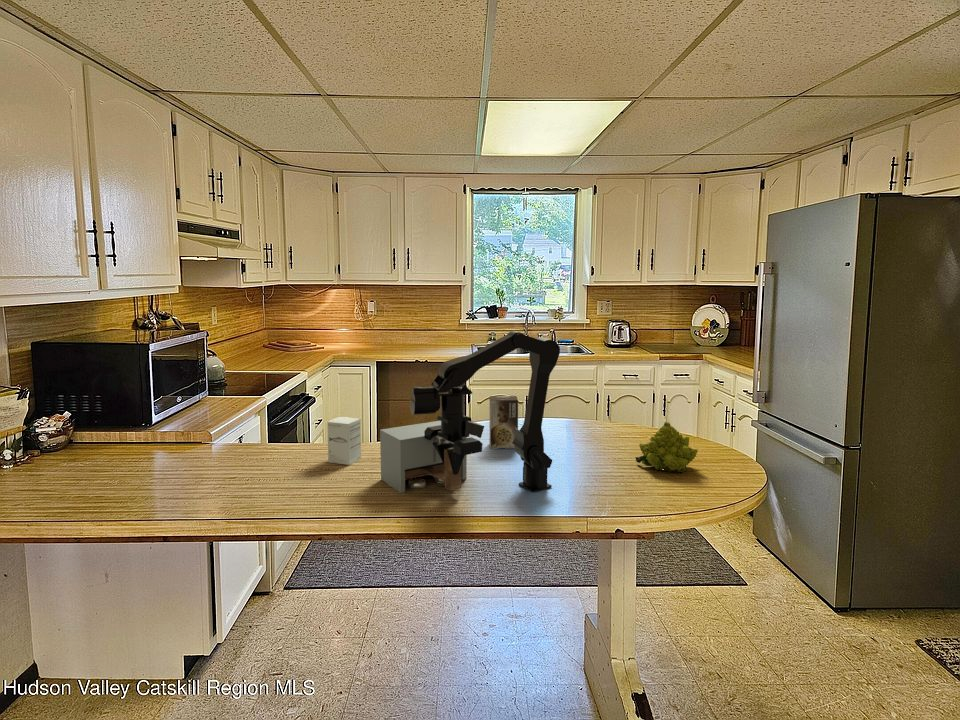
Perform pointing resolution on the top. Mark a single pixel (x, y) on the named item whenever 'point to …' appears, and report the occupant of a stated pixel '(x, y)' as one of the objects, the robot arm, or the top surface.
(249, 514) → the top surface
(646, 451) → the vegetable
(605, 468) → the top surface
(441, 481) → the disc right
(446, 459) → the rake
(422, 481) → the disc left
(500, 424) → the coffee box
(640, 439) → the top surface
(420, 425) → the cabinet
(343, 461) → the supplement box
